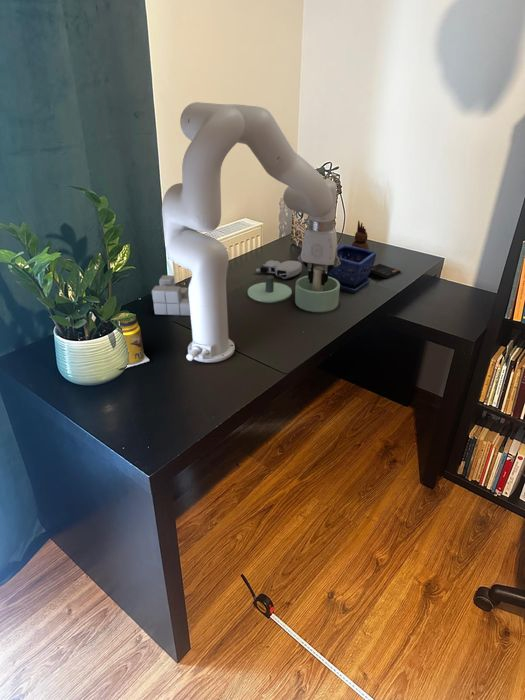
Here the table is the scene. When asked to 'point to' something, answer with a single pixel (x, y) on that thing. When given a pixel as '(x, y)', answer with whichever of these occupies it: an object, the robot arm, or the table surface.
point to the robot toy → (281, 268)
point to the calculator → (384, 271)
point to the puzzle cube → (170, 298)
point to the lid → (269, 291)
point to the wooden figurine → (360, 238)
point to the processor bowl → (317, 295)
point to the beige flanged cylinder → (317, 279)
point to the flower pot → (353, 267)
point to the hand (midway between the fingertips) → (317, 282)
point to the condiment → (133, 341)
